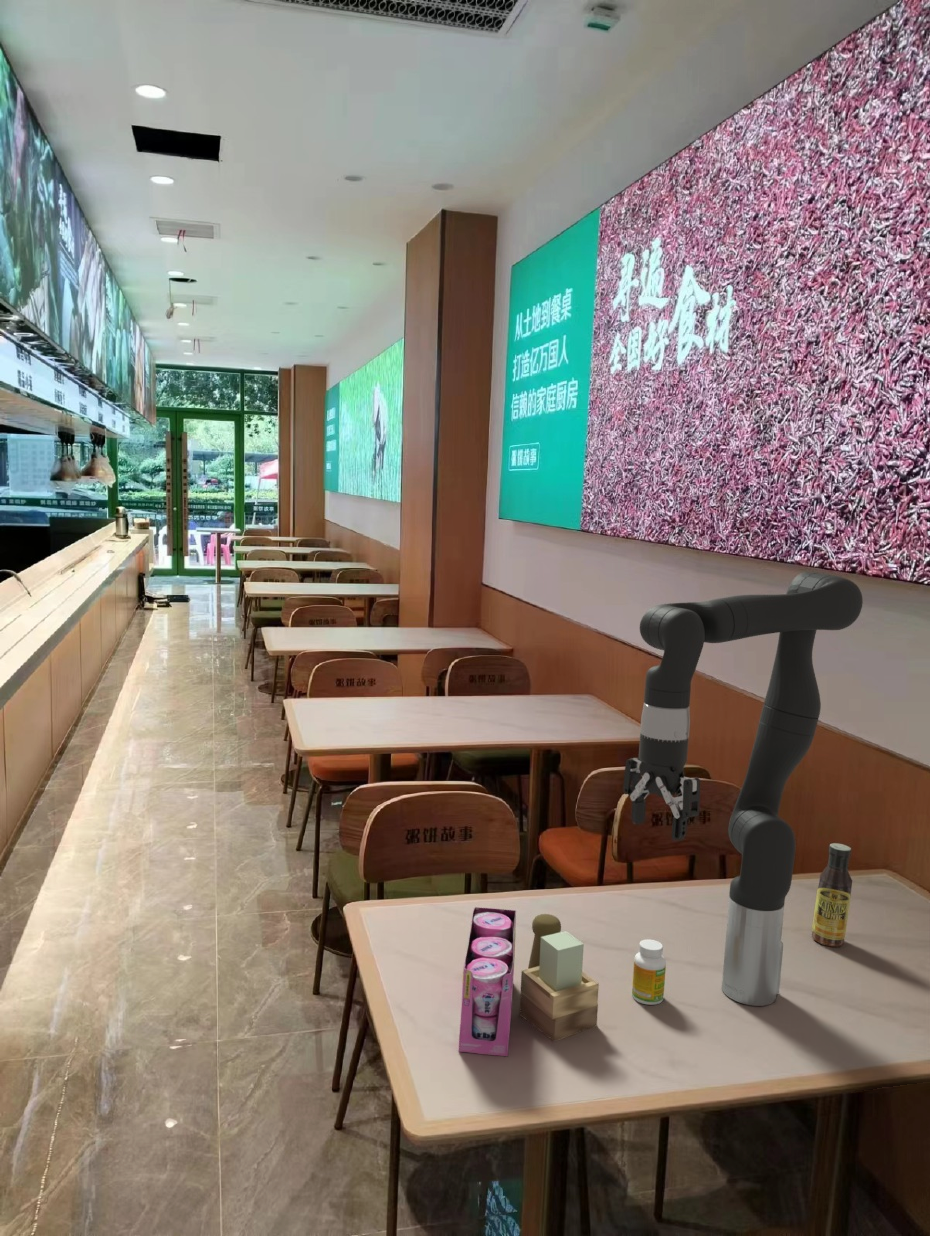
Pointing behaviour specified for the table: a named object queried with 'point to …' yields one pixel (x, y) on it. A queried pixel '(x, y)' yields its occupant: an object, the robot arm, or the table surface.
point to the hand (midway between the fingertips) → (657, 831)
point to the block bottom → (558, 1020)
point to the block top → (558, 994)
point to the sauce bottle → (833, 898)
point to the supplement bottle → (649, 973)
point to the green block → (561, 961)
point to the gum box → (488, 982)
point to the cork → (542, 934)
